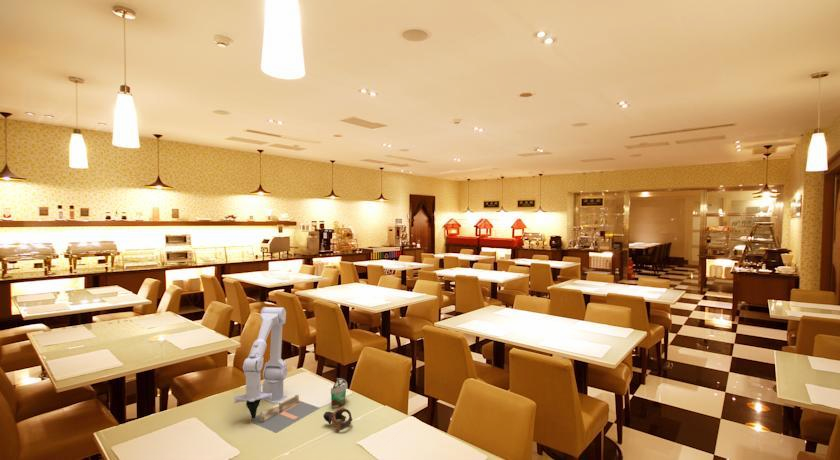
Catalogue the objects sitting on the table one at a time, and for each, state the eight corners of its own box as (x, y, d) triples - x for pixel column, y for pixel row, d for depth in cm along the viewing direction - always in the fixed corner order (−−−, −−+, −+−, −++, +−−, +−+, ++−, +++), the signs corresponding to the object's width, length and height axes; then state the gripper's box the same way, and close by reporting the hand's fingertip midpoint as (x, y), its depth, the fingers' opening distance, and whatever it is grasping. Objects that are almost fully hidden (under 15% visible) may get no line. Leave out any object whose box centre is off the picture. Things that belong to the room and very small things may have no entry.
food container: (344, 411, 179) (344, 389, 179) (330, 410, 179) (330, 388, 179) (349, 398, 191) (349, 377, 191) (337, 398, 192) (337, 377, 191)
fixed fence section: (278, 412, 177) (277, 403, 177) (297, 402, 186) (297, 394, 186) (280, 413, 176) (280, 404, 176) (299, 403, 185) (299, 395, 185)
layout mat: (247, 421, 170) (247, 420, 170) (292, 398, 190) (292, 398, 190) (276, 433, 161) (276, 432, 161) (320, 408, 181) (320, 407, 181)
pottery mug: (352, 420, 173) (355, 408, 169) (346, 440, 164) (350, 428, 160) (324, 413, 172) (327, 401, 168) (318, 434, 164) (320, 421, 160)
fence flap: (277, 412, 177) (277, 404, 176) (279, 413, 176) (279, 405, 176) (259, 421, 169) (259, 413, 168) (261, 422, 168) (261, 414, 168)
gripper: (232, 391, 164) (233, 424, 165) (270, 387, 168) (270, 419, 168) (236, 384, 171) (236, 415, 172) (272, 381, 174) (272, 411, 175)
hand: (253, 417), depth 170 cm, fingers closed
